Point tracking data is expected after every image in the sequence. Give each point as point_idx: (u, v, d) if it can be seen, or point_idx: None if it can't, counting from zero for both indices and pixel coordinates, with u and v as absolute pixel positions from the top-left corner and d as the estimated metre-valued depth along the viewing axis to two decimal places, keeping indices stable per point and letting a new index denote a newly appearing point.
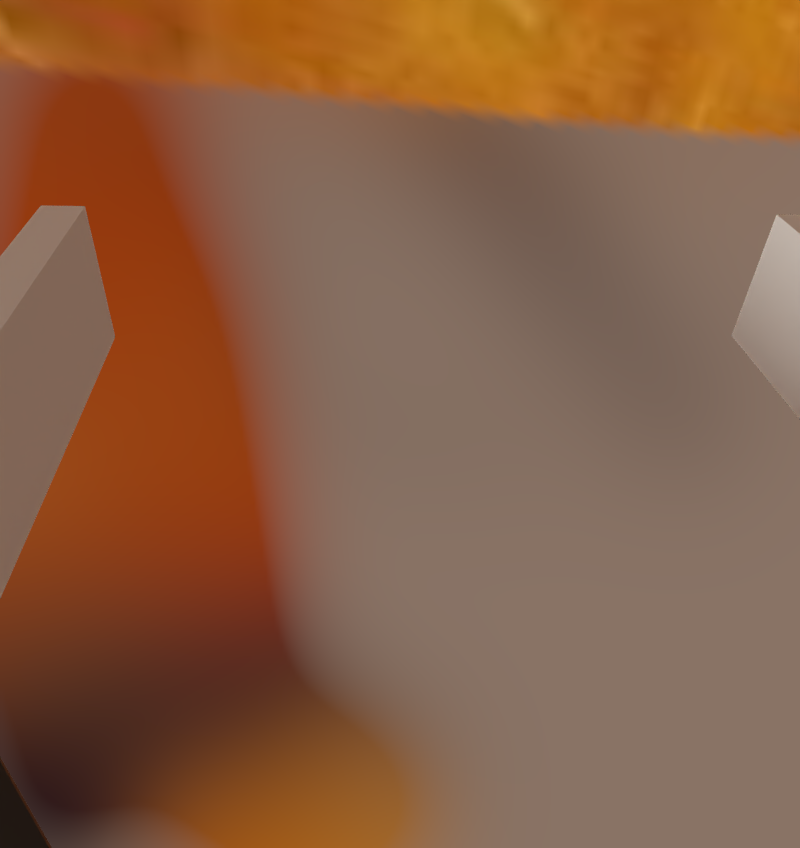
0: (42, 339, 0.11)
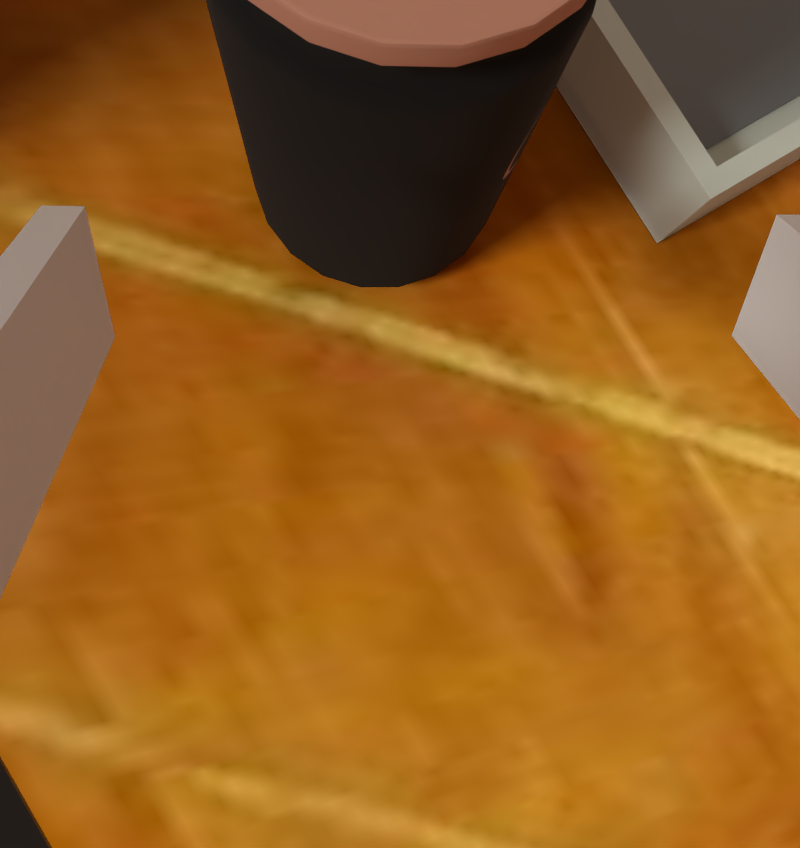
0: (42, 339, 0.11)
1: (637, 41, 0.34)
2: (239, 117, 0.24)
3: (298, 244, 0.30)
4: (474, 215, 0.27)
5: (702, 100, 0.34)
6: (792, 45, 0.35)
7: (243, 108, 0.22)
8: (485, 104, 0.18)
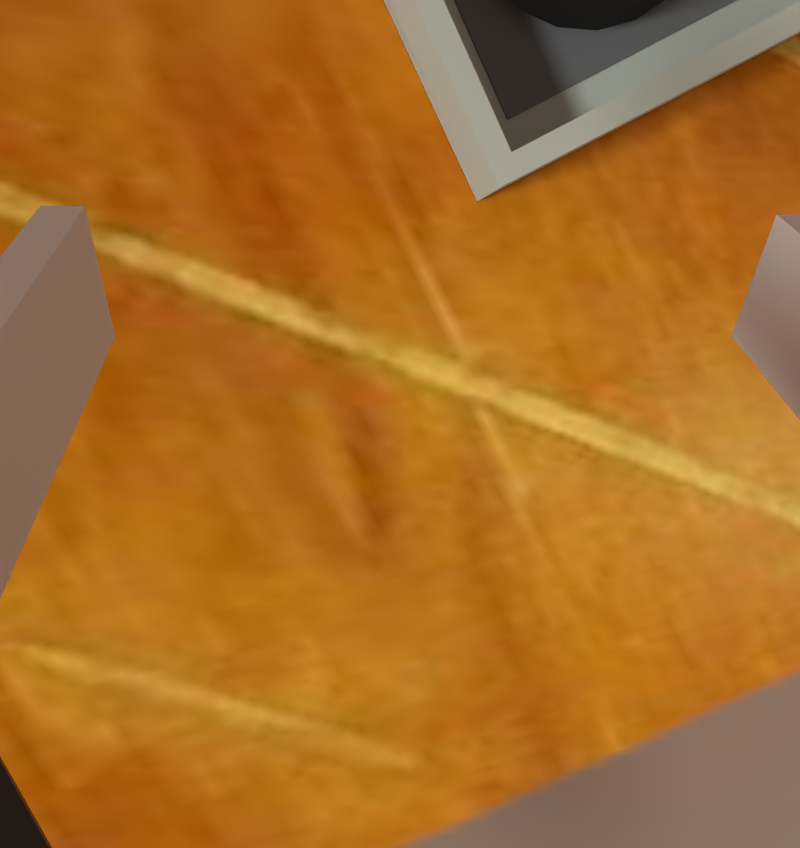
0: (42, 339, 0.11)
1: None
2: None
3: None
4: None
5: (539, 46, 0.32)
6: None
7: None
8: None
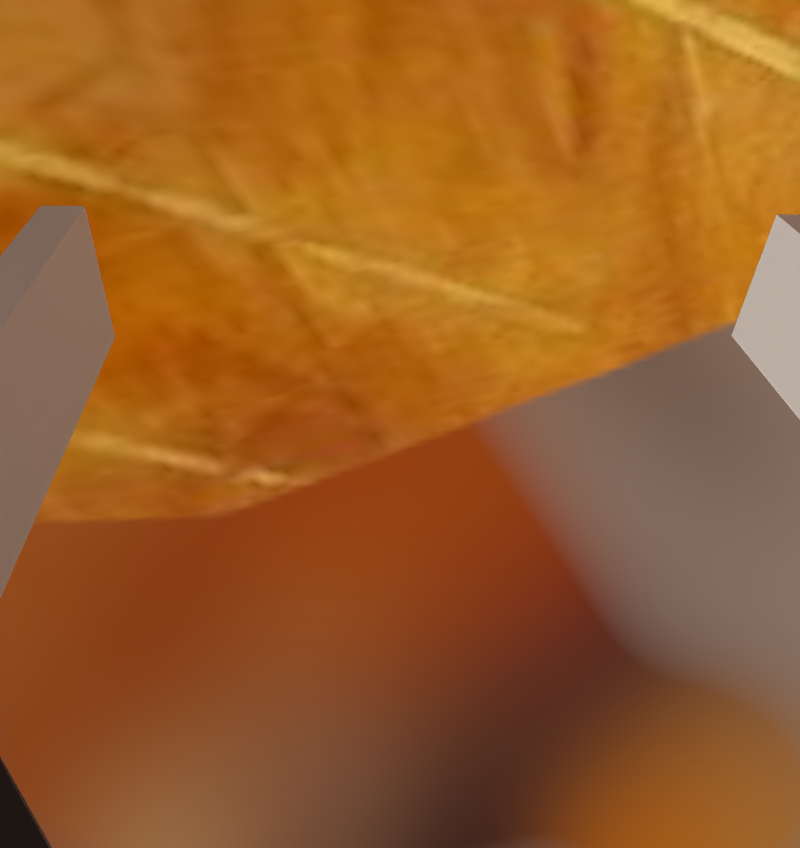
0: (42, 339, 0.11)
1: None
2: None
3: None
4: None
5: None
6: None
7: None
8: None
